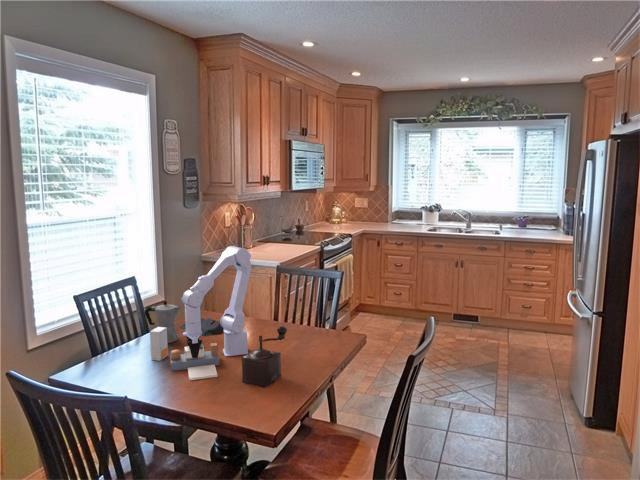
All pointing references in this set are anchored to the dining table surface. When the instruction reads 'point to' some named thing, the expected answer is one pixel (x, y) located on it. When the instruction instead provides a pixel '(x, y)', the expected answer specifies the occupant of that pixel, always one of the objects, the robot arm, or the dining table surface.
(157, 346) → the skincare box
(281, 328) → the manual coffee grinder
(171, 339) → the coffeepot
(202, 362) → the plane body
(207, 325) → the dark slate chunk
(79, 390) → the dining table surface
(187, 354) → the lever cap
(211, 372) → the tile
